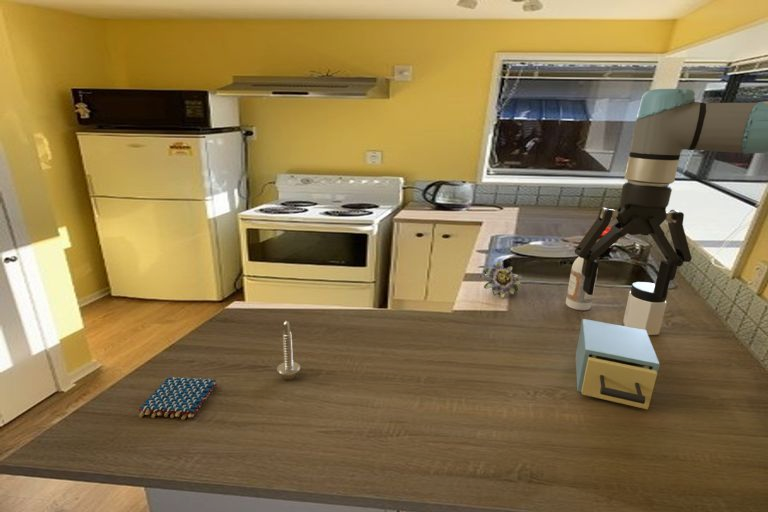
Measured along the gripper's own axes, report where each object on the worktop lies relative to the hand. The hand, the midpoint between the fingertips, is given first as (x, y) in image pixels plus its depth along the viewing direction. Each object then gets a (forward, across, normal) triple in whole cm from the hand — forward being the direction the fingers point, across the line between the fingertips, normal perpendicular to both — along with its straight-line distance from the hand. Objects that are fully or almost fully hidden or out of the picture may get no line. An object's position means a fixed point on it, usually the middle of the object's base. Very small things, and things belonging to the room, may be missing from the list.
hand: (623, 293), depth 81 cm
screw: (+22, +66, +1) cm, 69 cm away
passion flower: (+22, +11, -50) cm, 55 cm away
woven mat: (+22, +84, +11) cm, 88 cm away
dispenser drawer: (+20, -1, +2) cm, 21 cm away
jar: (+22, -23, -28) cm, 42 cm away
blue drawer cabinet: (+21, -3, -3) cm, 22 cm away
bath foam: (+22, -11, -42) cm, 48 cm away
